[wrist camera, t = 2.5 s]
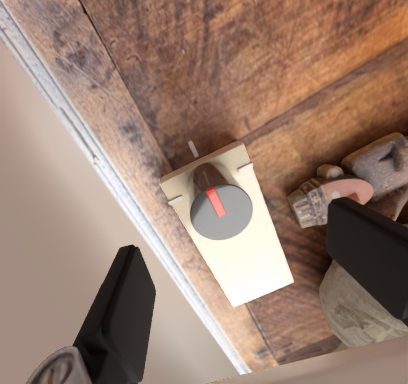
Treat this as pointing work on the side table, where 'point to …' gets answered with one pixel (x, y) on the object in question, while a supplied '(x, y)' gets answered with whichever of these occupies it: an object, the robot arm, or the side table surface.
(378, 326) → the decorative shell
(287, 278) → the cream knob base plate
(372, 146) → the figurine
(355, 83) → the side table surface
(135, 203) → the side table surface
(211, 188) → the hob knob
